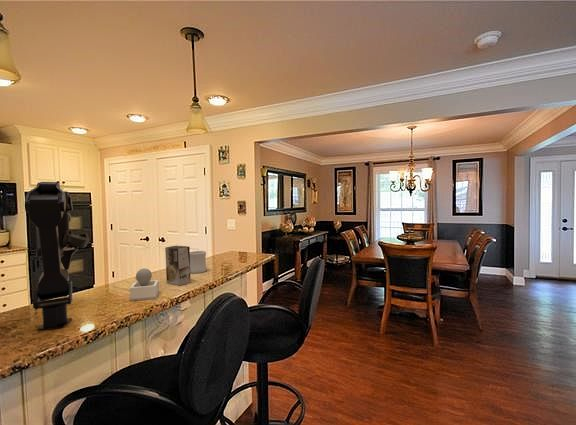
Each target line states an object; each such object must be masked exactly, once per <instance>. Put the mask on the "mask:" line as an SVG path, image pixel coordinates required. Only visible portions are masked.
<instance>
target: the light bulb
mask: <svg viewBox="0 0 576 425" xmlns="http://www.w3.org/2000/svg"><path fill="white" fill-rule="evenodd" d="M152 275H153V274H152V272H151V270H150V269H148V268H141V269H138V271H137V272H136V274H135V279H136V282H139V284H140V285H141V286H148V283H149V281H152V280H151V279H152V277H153V276H152Z"/></svg>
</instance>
